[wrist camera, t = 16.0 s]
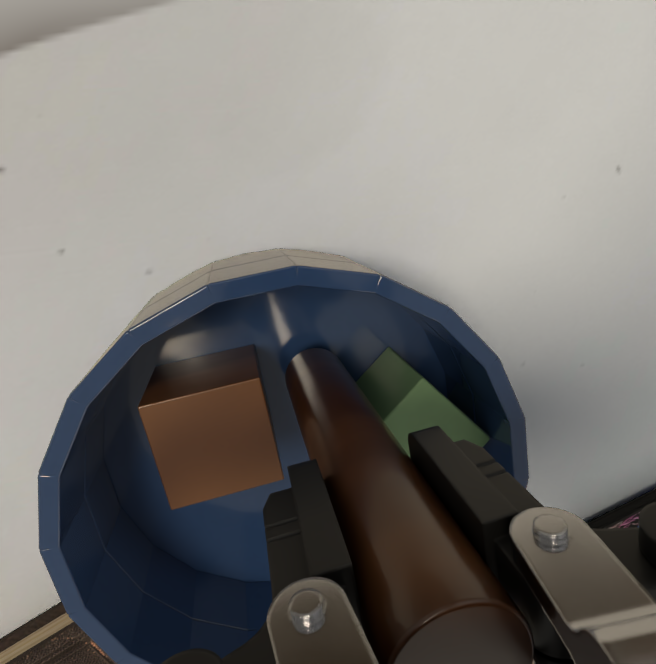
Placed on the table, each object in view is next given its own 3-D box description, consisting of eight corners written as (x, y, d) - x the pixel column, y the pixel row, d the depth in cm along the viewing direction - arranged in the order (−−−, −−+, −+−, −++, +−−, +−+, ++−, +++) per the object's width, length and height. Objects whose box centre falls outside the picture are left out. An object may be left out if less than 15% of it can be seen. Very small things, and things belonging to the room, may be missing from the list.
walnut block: (154, 366, 19) (136, 406, 15) (253, 343, 20) (259, 377, 16) (181, 453, 20) (170, 510, 17) (274, 429, 21) (284, 480, 17)
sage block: (388, 345, 21) (423, 377, 17) (447, 398, 22) (491, 438, 18) (327, 412, 21) (348, 458, 17) (388, 461, 22) (421, 513, 19)
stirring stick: (282, 351, 19) (381, 621, 7) (341, 343, 19) (541, 586, 7) (287, 407, 19) (387, 752, 7) (345, 399, 20) (532, 712, 8)
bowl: (33, 296, 18) (-55, 339, 12) (433, 214, 20) (512, 219, 15) (154, 623, 23) (130, 762, 17) (468, 527, 25) (538, 622, 19)
